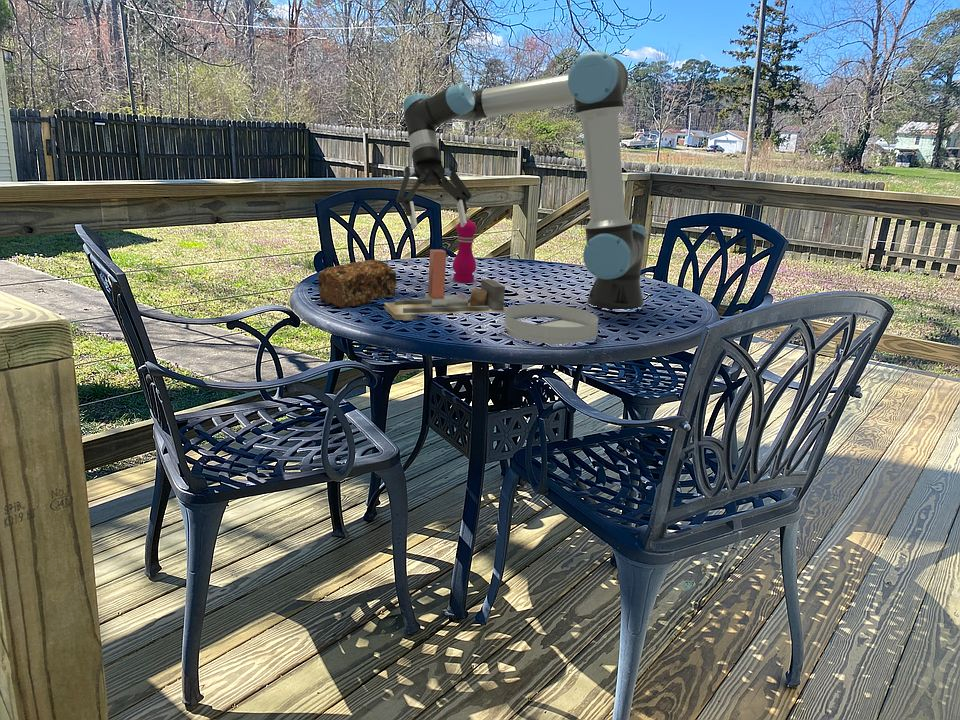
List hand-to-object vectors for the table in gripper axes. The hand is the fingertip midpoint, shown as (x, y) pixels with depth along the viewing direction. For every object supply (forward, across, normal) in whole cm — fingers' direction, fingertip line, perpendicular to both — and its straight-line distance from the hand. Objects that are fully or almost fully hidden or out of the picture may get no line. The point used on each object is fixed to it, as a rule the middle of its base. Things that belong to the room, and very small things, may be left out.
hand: (439, 226), depth 192 cm
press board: (+24, +2, 0) cm, 24 cm away
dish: (+37, -15, +19) cm, 44 cm away
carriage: (+22, +2, +1) cm, 22 cm away
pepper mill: (+5, -17, -32) cm, 37 cm away
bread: (+14, +21, -14) cm, 29 cm away
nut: (+23, -6, +1) cm, 23 cm away
